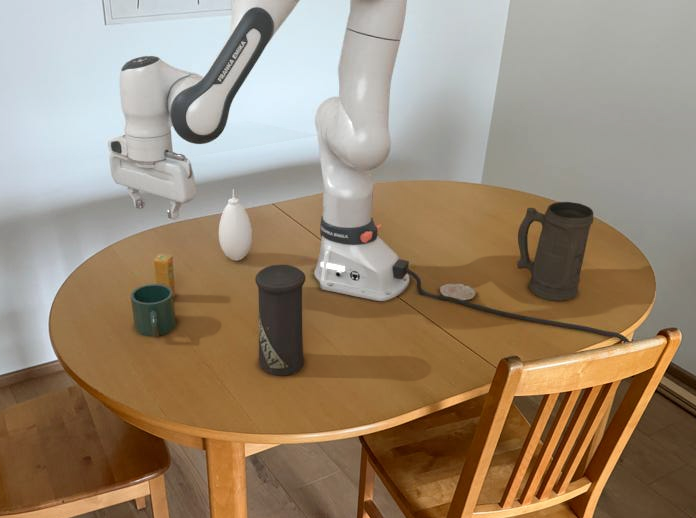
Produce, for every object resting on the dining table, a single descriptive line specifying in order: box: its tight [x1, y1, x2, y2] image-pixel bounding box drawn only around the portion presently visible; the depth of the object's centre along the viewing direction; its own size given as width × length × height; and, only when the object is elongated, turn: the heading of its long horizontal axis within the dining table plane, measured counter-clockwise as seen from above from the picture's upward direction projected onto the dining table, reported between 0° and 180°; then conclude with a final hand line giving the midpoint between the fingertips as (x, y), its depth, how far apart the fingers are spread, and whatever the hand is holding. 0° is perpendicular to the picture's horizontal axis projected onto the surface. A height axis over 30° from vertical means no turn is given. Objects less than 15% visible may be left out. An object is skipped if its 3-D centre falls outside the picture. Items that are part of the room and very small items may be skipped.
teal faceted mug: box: [130, 283, 177, 339], centre depth 146 cm, size 12×8×8 cm
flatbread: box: [439, 283, 476, 301], centre depth 161 cm, size 8×8×1 cm
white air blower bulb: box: [218, 188, 253, 262], centre depth 170 cm, size 8×8×18 cm
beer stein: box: [516, 201, 594, 302], centre depth 159 cm, size 15×11×20 cm
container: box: [254, 264, 306, 377], centre depth 132 cm, size 9×9×20 cm
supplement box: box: [153, 253, 176, 298], centre depth 156 cm, size 3×3×10 cm
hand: (156, 212), depth 147 cm, fingers open, 8 cm apart
